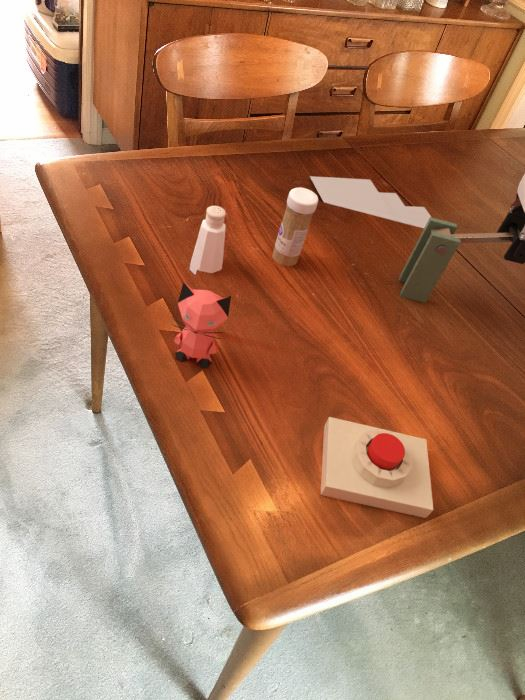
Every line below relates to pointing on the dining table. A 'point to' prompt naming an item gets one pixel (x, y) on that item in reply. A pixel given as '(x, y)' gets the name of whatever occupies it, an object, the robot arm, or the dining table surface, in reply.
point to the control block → (374, 470)
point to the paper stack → (368, 200)
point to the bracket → (428, 260)
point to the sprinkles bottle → (294, 226)
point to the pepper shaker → (210, 242)
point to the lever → (483, 235)
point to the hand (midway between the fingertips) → (510, 247)
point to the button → (386, 451)
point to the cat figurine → (200, 323)
